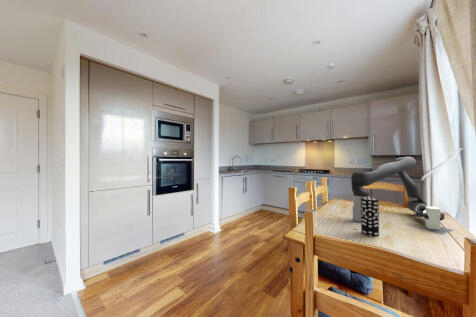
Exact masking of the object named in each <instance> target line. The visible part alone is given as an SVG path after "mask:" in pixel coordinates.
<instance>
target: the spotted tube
mask: <svg viewBox="0 0 476 317" xmlns="http://www.w3.org/2000/svg"><path fill="white" fill-rule="evenodd" d="M379 202H380V201H379V198H376V197H370V196H369V197H361V222H360V227H361V228H360V229H361V230H360V233H361V234H362V235H364V236H368V237H372V238H373V237H375V238H376V237H379V236H380V216H379V215H380V209H379V208H380V207H379V204H380V203H379Z"/></svg>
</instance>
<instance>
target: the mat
mask: <svg viewBox="0 0 476 317" xmlns="http://www.w3.org/2000/svg"><path fill="white" fill-rule="evenodd" d="M419 229H421V230H424V231H428V232H431V233H436V234H439V235H443V234H446V233H450V232H452V231H454V229H451V228H447V227H443V226H440V230H435V229H428V228H427V227H426V226H421V227H419Z"/></svg>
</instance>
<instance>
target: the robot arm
mask: <svg viewBox="0 0 476 317" xmlns="http://www.w3.org/2000/svg"><path fill="white" fill-rule="evenodd" d="M416 164H417V161H416V159H415V158H414V157H412V156H401V157H397V158H395V159H394V161H392V162H387V163H383V164H379V165H378V166H376V167H375V169H374V170H372V171H368V172H367V171H365V172H363V171H354V172H353V173H352V175H351V178H350V180H351V183H350V184H351V190H352V193H353V194H352V200H353V201H352V203H353V204H352V205H353V206H352V221H355V222H358V223H361V197H370V191H369V190H366V188H364V187H369V186H371V185H372V184H374V183H376V182H378V181H381V180H383V179H386V178H389V177H392V176H394V175H396V174H398V176H399V178H400V179H401V182H402V184H403V186H404V189H405V191H406V195H407V197H408V198H411V199H414V200H409V201H407V203H406V206H407V208H408V210H410V211H412V212H413V215H415V216H417V217H419V218H424V219H425V218H426V219H429V216H428V215H427V214H426V213H425V206H428V207H430V206H429V205H427V203H426V201H425V200H424V199H423V197H422V196H421V193H420V190H419V187H418V185H417V183H416V182H415V181H414V180H413V179H412V178H411V177H410V176H409V175H408V174H407V170H412V169H414V168H415V167H416V166H417V165H416ZM415 199H416V200H415ZM443 220H445V213H444V212H440V222H442V221H443Z"/></svg>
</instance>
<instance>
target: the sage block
mask: <svg viewBox="0 0 476 317" xmlns="http://www.w3.org/2000/svg"><path fill="white" fill-rule="evenodd" d="M428 206H429V205H427V206H425V213H426V214H427V215H428V216H429V219H426V218H424V219H425V221H424V222H425V226H426V227H427V228H428V229H435V230H440V227H441V221H440V213H441V209H440V208H439V207H437V206H429V207H428ZM425 226H424V227H425Z"/></svg>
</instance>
